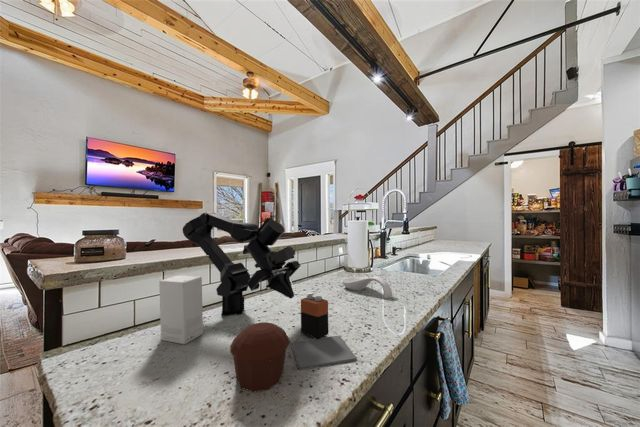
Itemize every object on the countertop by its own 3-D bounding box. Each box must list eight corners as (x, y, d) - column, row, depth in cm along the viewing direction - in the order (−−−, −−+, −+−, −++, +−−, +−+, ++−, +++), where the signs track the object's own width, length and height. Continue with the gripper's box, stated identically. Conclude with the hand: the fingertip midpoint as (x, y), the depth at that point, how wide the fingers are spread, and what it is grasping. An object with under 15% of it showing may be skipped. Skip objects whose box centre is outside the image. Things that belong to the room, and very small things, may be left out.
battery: (317, 340, 65) (317, 299, 65) (300, 332, 69) (299, 295, 70) (329, 335, 68) (328, 296, 69) (311, 328, 72) (311, 292, 73)
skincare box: (203, 334, 68) (204, 276, 69) (183, 346, 62) (183, 282, 62) (179, 329, 71) (180, 273, 71) (157, 340, 65) (158, 279, 65)
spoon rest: (336, 288, 113) (336, 272, 113) (353, 283, 121) (353, 268, 121) (381, 302, 96) (381, 283, 96) (398, 295, 104) (398, 277, 104)
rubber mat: (299, 369, 53) (299, 367, 53) (290, 343, 64) (290, 341, 64) (356, 360, 57) (356, 357, 57) (339, 337, 67) (339, 335, 67)
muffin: (237, 406, 43) (237, 346, 43) (223, 371, 52) (224, 322, 53) (299, 381, 49) (300, 330, 49) (277, 354, 59) (277, 311, 59)
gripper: (256, 240, 67) (290, 288, 62) (295, 235, 84) (325, 273, 78) (234, 267, 71) (264, 314, 66) (276, 257, 88) (303, 294, 82)
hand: (292, 297), depth 73 cm, fingers closed
